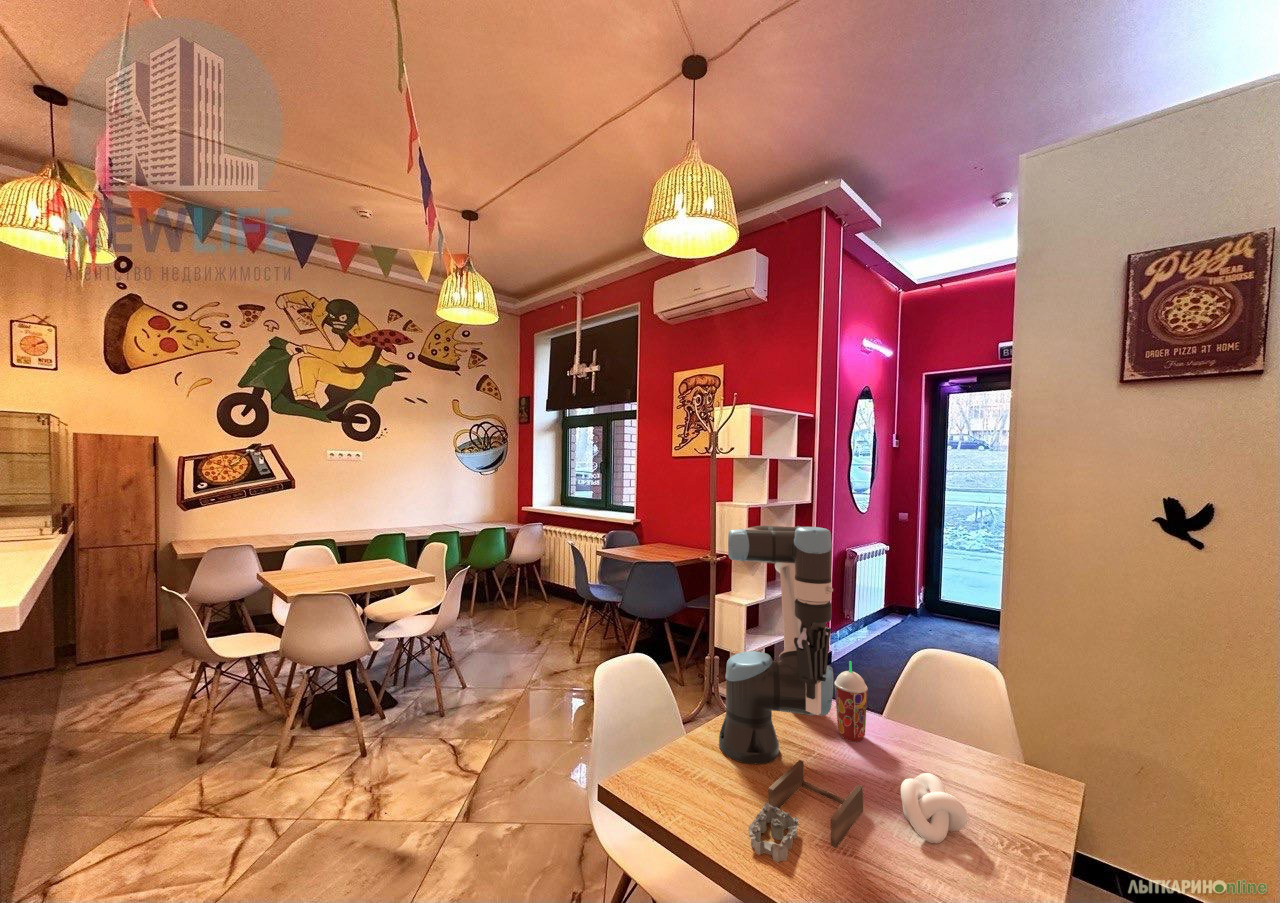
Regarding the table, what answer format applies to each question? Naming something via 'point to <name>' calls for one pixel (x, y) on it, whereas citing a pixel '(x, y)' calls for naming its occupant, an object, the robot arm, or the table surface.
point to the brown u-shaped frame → (843, 815)
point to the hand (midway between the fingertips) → (813, 711)
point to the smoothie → (851, 705)
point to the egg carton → (773, 832)
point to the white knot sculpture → (931, 807)
